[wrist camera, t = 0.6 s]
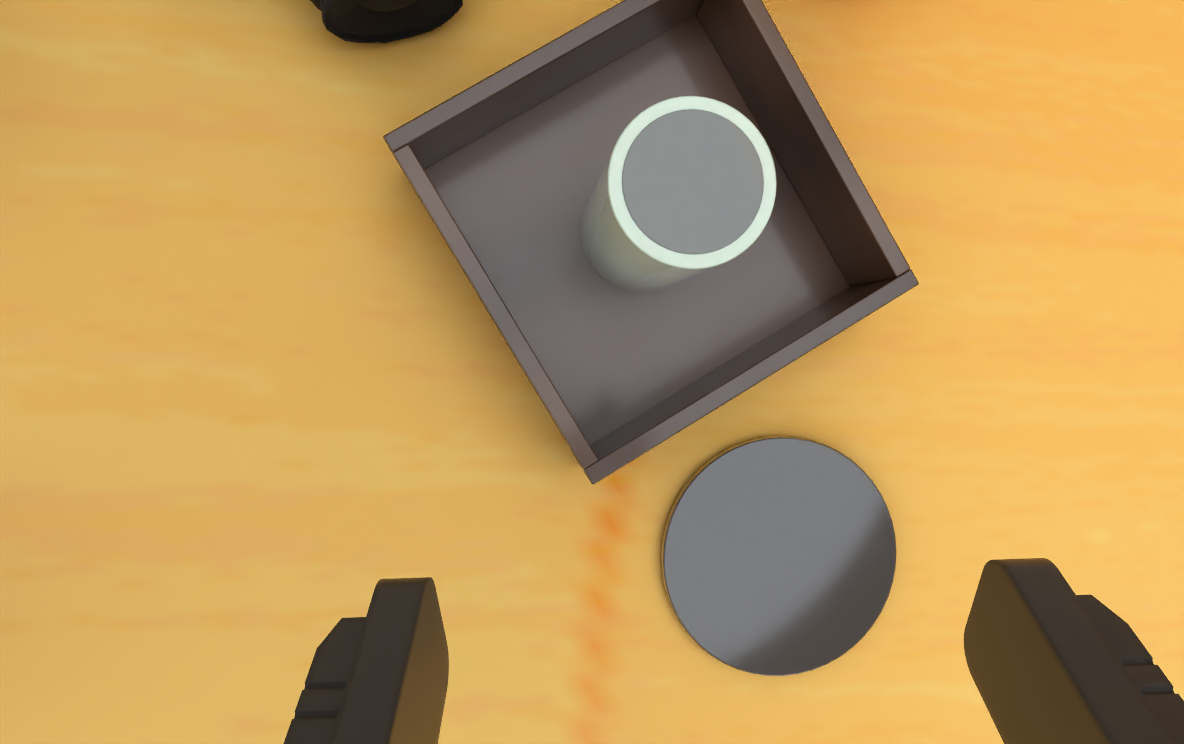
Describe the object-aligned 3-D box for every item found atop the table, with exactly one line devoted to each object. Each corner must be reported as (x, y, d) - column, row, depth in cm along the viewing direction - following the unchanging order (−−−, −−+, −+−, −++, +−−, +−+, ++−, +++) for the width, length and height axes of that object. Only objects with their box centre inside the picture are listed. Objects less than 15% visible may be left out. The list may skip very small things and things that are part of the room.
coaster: (616, 516, 36) (618, 519, 35) (817, 391, 37) (823, 392, 36) (736, 716, 37) (740, 722, 36) (931, 589, 38) (938, 593, 37)
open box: (401, 167, 35) (381, 135, 30) (698, -2, 36) (729, -60, 31) (581, 466, 36) (592, 485, 31) (863, 293, 37) (920, 283, 32)
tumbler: (556, 207, 35) (575, 148, 25) (663, 145, 35) (723, 63, 25) (620, 315, 35) (664, 300, 25) (724, 253, 36) (808, 214, 26)
